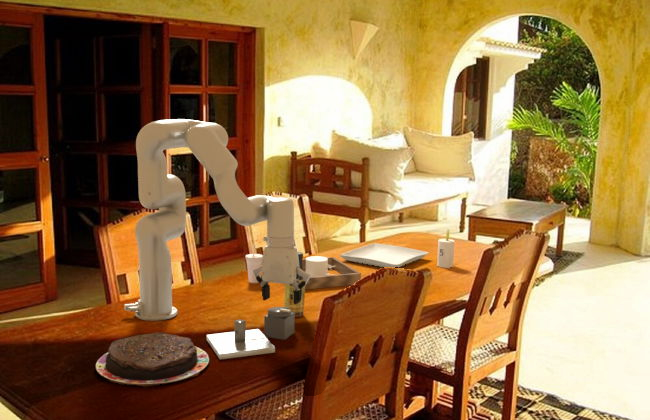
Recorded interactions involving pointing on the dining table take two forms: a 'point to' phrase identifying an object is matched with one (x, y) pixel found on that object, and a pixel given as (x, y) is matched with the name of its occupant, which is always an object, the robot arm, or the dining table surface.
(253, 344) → the shaft base
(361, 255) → the square plate
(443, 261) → the candle
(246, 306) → the dining table surface
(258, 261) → the smoothie
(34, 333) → the dining table surface
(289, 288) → the sauce bottle
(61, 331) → the dining table surface
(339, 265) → the frame
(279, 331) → the knob
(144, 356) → the chocolate cake
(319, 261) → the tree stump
